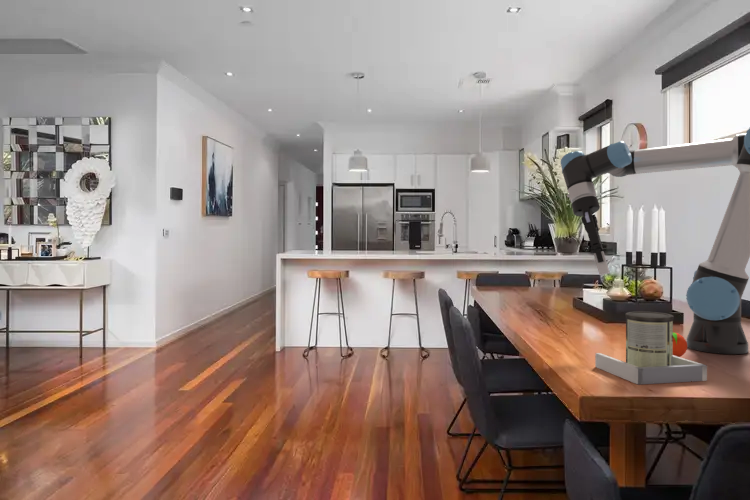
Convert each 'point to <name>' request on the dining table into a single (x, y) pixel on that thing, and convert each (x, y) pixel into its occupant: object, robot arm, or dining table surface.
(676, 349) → the tomato
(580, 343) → the dining table surface
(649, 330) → the coffee can
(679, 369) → the bay
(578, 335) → the dining table surface
